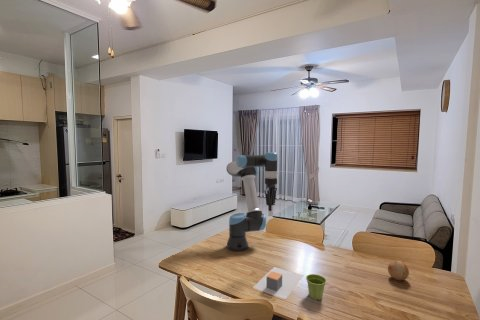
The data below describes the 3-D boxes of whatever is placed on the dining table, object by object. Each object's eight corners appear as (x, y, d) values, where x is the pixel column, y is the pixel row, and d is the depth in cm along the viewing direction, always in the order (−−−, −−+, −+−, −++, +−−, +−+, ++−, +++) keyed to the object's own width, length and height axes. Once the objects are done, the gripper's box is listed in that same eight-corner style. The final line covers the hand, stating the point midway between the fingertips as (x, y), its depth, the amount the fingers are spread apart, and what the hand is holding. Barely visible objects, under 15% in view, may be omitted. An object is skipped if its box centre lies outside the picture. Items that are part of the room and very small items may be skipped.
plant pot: (310, 288, 128) (310, 271, 127) (328, 295, 122) (329, 278, 121) (302, 297, 121) (302, 279, 120) (321, 305, 115) (321, 286, 114)
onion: (398, 285, 131) (399, 266, 130) (383, 275, 140) (383, 258, 140) (413, 282, 133) (414, 264, 133) (397, 273, 143) (397, 256, 142)
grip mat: (252, 288, 128) (252, 287, 128) (274, 267, 150) (274, 266, 150) (285, 300, 118) (285, 299, 118) (303, 276, 140) (303, 275, 140)
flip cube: (271, 271, 133) (271, 282, 133) (266, 276, 128) (266, 287, 128) (282, 274, 129) (282, 285, 130) (277, 279, 124) (277, 291, 125)
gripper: (271, 179, 146) (271, 219, 147) (281, 176, 157) (280, 214, 158) (260, 178, 150) (260, 217, 151) (270, 176, 161) (269, 212, 162)
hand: (270, 215), depth 155 cm, fingers closed
